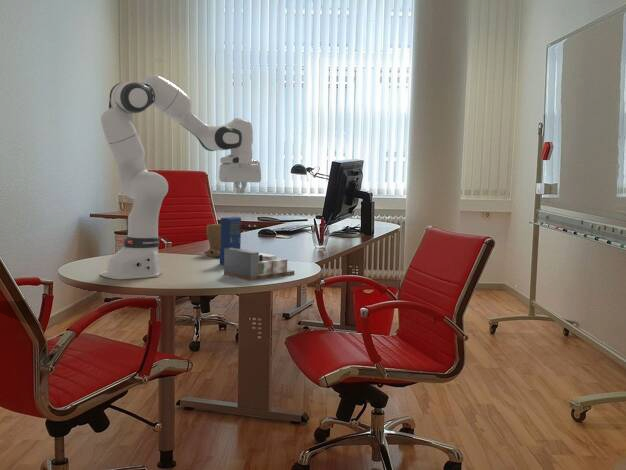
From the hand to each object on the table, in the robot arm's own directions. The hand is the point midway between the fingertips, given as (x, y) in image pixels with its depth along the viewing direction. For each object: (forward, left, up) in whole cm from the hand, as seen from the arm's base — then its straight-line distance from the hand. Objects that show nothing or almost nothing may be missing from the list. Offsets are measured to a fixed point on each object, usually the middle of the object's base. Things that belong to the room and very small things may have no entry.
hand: (240, 193), depth 265 cm
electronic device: (+6, +12, -31) cm, 34 cm away
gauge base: (-3, -16, -31) cm, 35 cm away
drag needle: (-9, -23, -24) cm, 34 cm away
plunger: (-1, -17, -29) cm, 34 cm away
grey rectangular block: (-13, -16, -30) cm, 36 cm away
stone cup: (+17, +34, -31) cm, 49 cm away
